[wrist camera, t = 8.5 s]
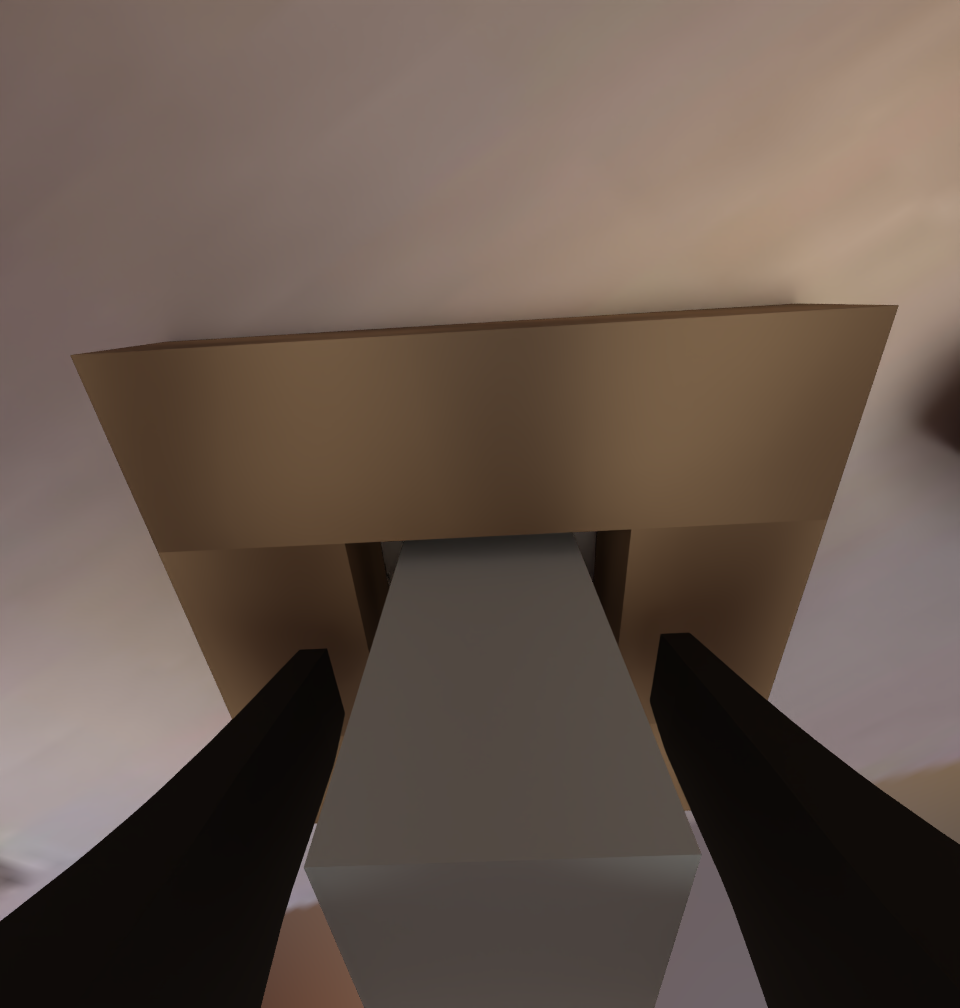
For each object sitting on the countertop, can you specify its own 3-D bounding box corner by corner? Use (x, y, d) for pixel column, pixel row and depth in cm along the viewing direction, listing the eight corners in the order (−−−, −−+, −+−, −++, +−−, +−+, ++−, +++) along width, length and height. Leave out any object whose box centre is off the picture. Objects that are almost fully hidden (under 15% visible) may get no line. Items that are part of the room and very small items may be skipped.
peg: (428, 627, 13) (369, 1018, 6) (412, 512, 12) (303, 867, 4) (557, 621, 13) (653, 1011, 6) (561, 505, 11) (701, 854, 4)
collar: (307, 749, 16) (279, 824, 13) (166, 342, 10) (70, 354, 7) (694, 734, 15) (731, 809, 13) (797, 304, 9) (898, 305, 7)
